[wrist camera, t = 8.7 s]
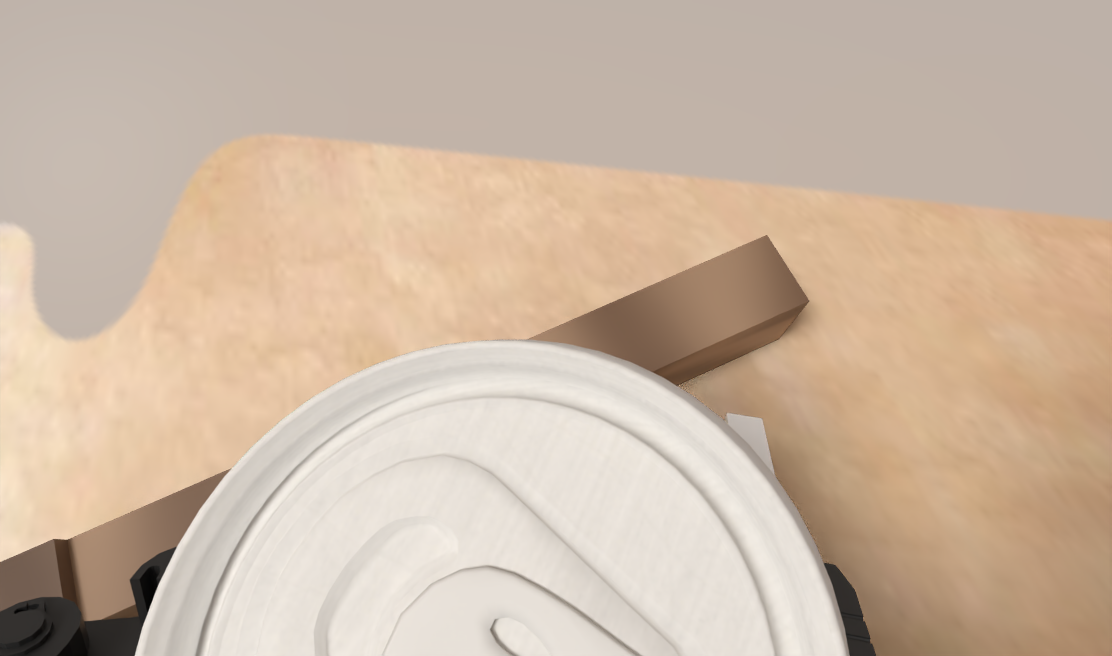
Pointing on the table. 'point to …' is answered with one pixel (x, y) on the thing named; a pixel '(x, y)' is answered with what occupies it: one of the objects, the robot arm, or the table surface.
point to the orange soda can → (498, 523)
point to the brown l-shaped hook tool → (616, 329)
